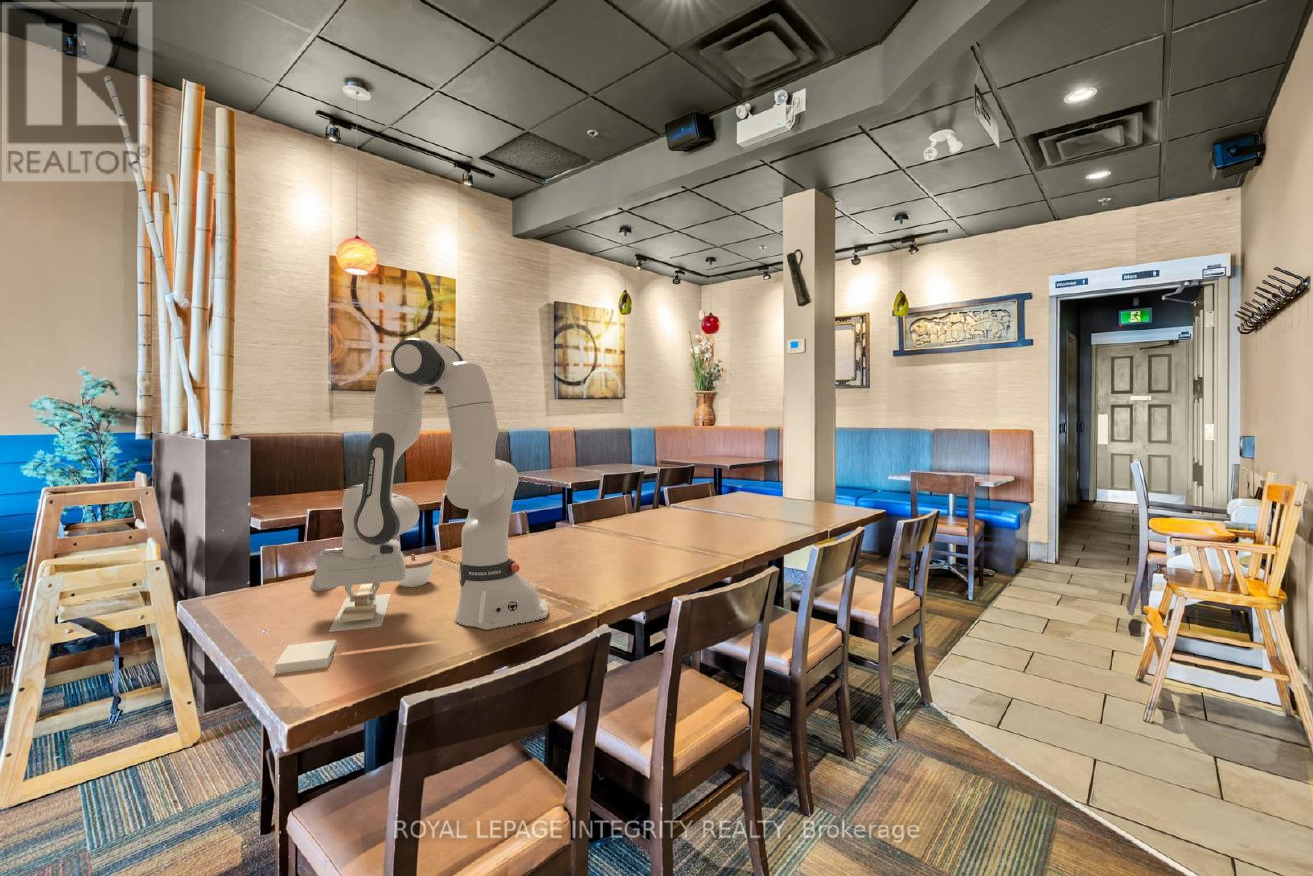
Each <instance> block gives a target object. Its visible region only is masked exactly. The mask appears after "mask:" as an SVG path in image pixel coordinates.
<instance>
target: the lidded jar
mask: <svg viewBox="0 0 1313 876" xmlns="http://www.w3.org/2000/svg"><path fill="white" fill-rule="evenodd" d="M404 559H405V565H406V577H405V578H404V579H403V580H402V581H396V582H397V583H398V584H399V586H401V587H404V588H417V587H422V586H424V585H426V584H427V582H428V581H429V580H430V578H431V576H432V573H433V562H434V559H433V557H432V556H429V555H416V553H411V555H409V556H408V555H407V556H404Z"/></svg>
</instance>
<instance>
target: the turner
mask: <svg viewBox="0 0 1313 876" xmlns="http://www.w3.org/2000/svg"><path fill="white" fill-rule="evenodd" d="M374 589H375V587H374V585H373V583H369V584H360V586H359V588H358V590H357V592H356V593H357V594H356V597H355V606H353V607H345V609H344V611H343V613H342V615H341V617H340V622H347V621H357V620H366V619H373V618H374V615H375V612H376V609H377V604H373V605H369V604H370V601H371V600H370V601H369V592H373V591H374Z"/></svg>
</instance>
